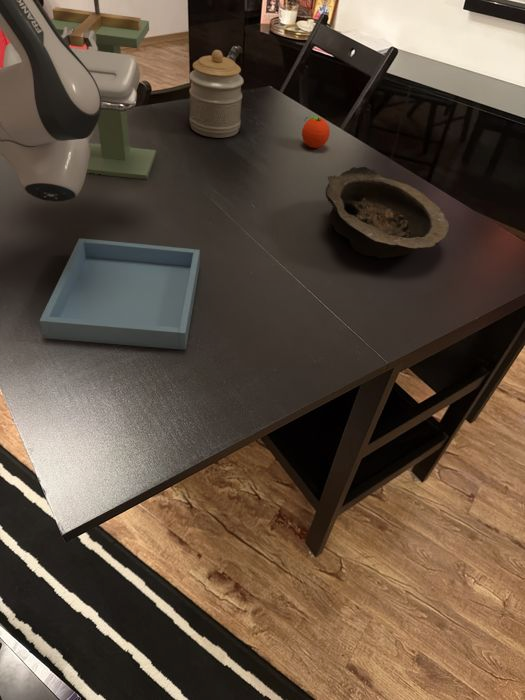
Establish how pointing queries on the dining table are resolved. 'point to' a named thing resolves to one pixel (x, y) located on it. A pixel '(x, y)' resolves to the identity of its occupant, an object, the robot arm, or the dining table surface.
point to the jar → (215, 96)
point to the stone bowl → (382, 214)
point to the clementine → (315, 132)
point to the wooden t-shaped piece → (93, 21)
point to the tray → (124, 295)
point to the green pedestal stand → (115, 114)
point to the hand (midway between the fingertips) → (80, 32)
